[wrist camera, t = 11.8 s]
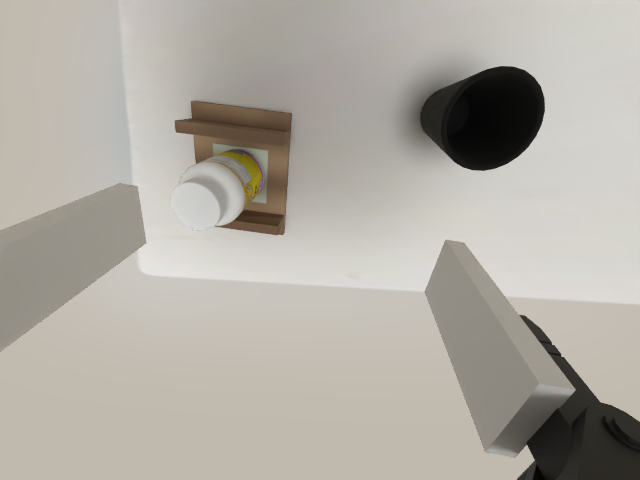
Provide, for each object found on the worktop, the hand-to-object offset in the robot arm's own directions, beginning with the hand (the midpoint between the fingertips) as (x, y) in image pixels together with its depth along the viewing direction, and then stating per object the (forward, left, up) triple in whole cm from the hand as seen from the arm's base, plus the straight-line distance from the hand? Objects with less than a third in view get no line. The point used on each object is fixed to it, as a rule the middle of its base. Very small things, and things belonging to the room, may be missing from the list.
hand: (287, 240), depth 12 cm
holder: (+5, -11, -27) cm, 29 cm away
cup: (-5, +13, -27) cm, 30 cm away
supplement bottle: (+5, -11, -26) cm, 28 cm away
